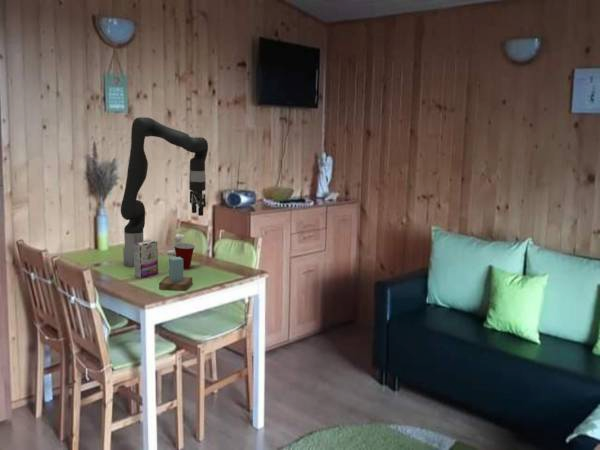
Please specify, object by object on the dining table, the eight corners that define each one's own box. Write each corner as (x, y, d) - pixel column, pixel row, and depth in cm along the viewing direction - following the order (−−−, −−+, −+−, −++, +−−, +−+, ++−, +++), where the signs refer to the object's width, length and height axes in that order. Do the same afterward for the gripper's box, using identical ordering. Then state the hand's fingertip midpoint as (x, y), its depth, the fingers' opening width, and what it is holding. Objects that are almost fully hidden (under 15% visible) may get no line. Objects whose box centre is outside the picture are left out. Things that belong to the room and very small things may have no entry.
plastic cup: (190, 271, 299) (190, 247, 297) (170, 269, 302) (170, 245, 299) (198, 265, 310) (198, 243, 308) (178, 264, 312) (178, 241, 310)
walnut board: (159, 289, 267) (159, 283, 266) (166, 282, 278) (166, 276, 278) (185, 290, 266) (185, 284, 265) (192, 283, 278) (192, 277, 277)
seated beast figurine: (179, 251, 340) (178, 231, 338) (189, 254, 335) (189, 233, 333) (166, 254, 333) (166, 233, 330) (177, 257, 328) (176, 235, 326)
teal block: (172, 282, 268) (172, 260, 266) (168, 279, 272) (168, 257, 271) (183, 280, 271) (183, 259, 269) (179, 278, 275) (179, 256, 273)
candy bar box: (151, 272, 295) (150, 239, 292) (158, 273, 292) (158, 240, 289) (133, 277, 286) (133, 243, 283) (141, 278, 283) (140, 244, 280)
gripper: (184, 178, 287) (184, 212, 290) (195, 182, 275) (195, 217, 278) (199, 178, 291) (199, 211, 294) (210, 181, 279) (210, 216, 282)
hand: (197, 214), depth 286 cm, fingers open, 8 cm apart
